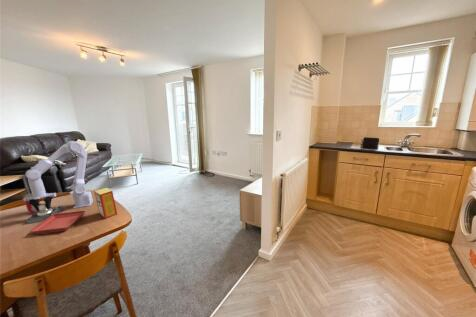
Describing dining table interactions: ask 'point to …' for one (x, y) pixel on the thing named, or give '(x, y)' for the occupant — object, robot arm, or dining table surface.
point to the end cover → (43, 210)
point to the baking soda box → (105, 202)
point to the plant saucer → (58, 222)
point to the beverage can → (29, 207)
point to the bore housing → (35, 218)
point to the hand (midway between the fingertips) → (44, 209)
